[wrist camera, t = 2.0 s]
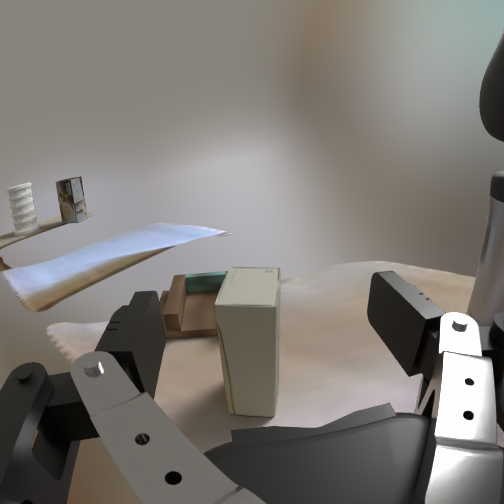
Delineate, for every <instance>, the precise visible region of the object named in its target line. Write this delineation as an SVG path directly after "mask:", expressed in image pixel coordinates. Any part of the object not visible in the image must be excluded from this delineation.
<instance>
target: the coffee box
mask: <svg viewBox="0 0 504 504" xmlns="http://www.w3.org/2000/svg"><path fill="white" fill-rule="evenodd" d="M56 188H57V193H58V200H59V206H60V211H61V216H62V221H63V224H65V223H79V222H81V221H83V220H85V219H87V218H88V216H87V211H86V205H85V199H84V192H83V186H82V179H81V177H75V178H69V179H65V180H61V181H58V182H56Z"/></svg>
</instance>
